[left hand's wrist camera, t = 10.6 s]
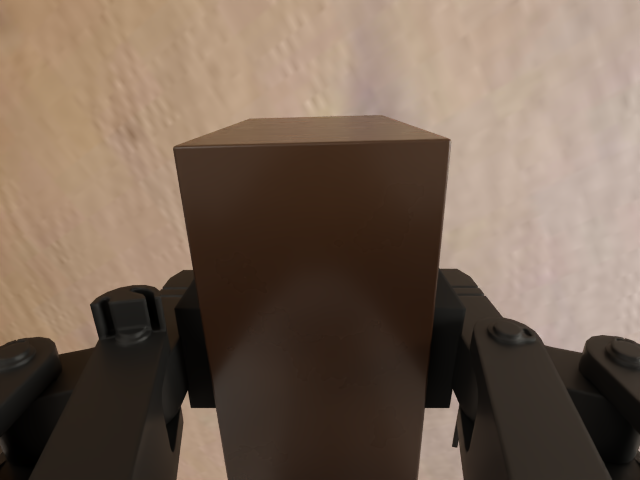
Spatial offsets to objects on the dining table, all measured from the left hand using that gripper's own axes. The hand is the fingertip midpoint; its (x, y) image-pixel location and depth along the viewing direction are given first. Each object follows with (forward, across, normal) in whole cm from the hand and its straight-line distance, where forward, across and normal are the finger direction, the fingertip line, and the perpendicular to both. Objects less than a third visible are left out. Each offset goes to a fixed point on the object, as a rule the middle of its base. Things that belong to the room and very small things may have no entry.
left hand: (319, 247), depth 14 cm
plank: (0, 0, -10) cm, 10 cm away
